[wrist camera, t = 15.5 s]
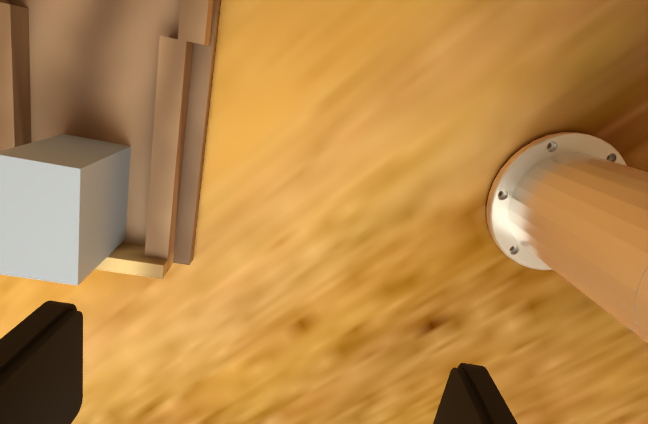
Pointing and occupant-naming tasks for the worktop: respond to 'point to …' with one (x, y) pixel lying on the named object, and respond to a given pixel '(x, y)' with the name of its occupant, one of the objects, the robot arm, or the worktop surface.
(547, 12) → the worktop surface
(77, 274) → the panel block
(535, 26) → the worktop surface
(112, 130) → the board
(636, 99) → the worktop surface
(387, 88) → the worktop surface
